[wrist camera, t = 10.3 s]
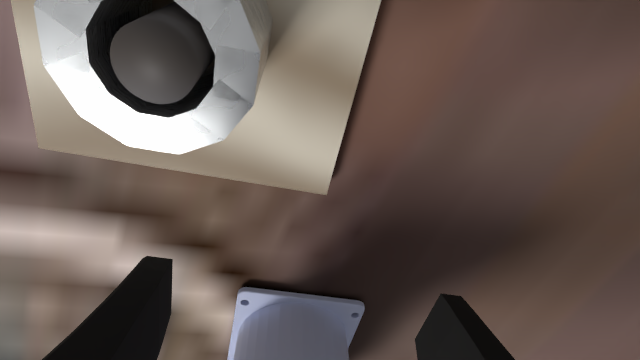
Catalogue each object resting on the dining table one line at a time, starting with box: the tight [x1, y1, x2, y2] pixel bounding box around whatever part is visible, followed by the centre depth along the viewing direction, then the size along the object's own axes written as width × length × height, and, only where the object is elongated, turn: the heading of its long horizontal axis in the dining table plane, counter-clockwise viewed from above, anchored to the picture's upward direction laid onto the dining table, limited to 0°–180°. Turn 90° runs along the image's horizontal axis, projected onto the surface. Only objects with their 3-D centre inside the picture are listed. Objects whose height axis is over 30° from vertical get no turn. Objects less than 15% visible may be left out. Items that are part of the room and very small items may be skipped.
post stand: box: [11, 0, 381, 195], centre depth 13 cm, size 13×13×6 cm
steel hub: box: [34, 0, 273, 154], centre depth 12 cm, size 6×6×5 cm
